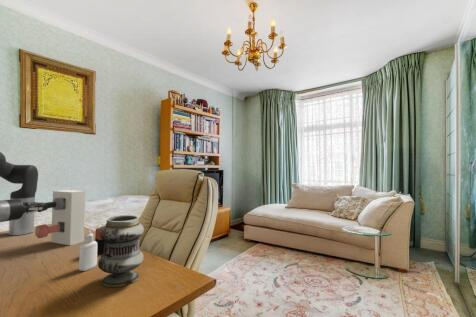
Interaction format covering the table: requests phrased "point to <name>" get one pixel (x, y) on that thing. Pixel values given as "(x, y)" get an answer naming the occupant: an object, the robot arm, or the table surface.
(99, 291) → the table surface
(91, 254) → the eye dropper bottle
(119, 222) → the apothecary jar
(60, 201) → the upper grey button
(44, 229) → the lower red button
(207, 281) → the table surface
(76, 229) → the box
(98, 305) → the table surface
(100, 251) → the battery
